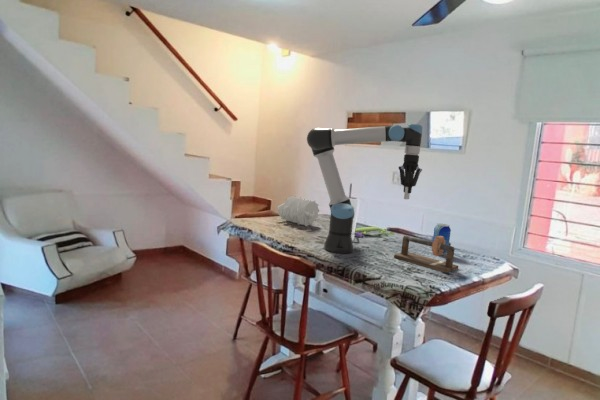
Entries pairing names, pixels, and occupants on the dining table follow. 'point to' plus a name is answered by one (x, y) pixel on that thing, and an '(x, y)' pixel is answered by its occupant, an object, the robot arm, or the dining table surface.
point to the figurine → (369, 229)
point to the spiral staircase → (299, 211)
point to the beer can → (442, 234)
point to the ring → (436, 243)
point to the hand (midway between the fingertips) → (406, 199)
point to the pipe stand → (427, 261)
